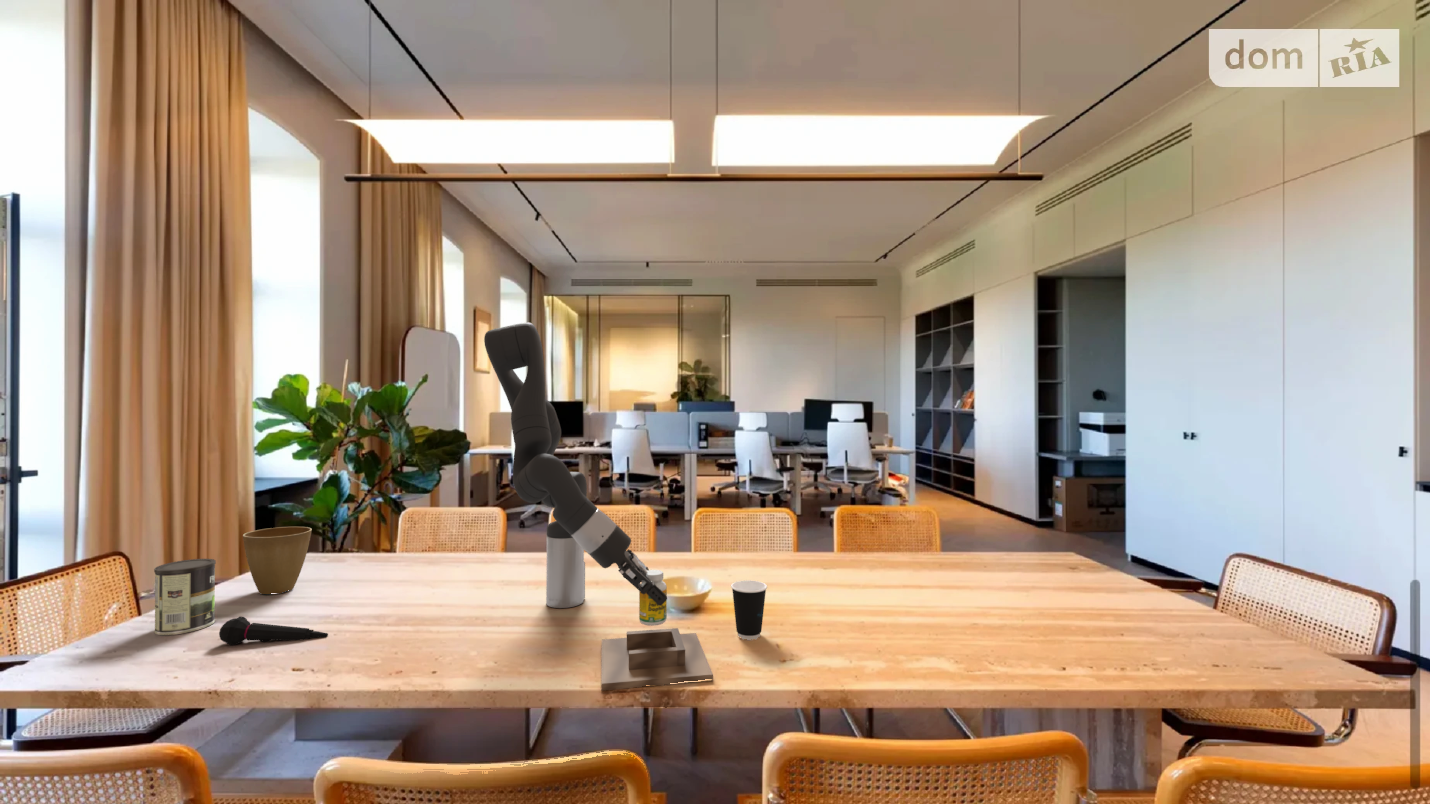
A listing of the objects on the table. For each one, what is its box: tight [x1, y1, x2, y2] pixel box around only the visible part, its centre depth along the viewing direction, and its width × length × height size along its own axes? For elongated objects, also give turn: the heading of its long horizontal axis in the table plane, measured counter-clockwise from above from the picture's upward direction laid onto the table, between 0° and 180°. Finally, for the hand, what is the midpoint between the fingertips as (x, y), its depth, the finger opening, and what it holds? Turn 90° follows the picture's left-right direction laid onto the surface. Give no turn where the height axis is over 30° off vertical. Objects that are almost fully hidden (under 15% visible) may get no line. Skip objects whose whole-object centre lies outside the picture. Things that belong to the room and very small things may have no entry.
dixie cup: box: [730, 579, 768, 641], centre depth 129 cm, size 8×8×11 cm
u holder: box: [600, 627, 714, 691], centre depth 115 cm, size 20×20×4 cm
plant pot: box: [242, 526, 312, 595], centre depth 159 cm, size 15×15×16 cm
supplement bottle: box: [638, 569, 668, 627], centre depth 115 cm, size 5×5×10 cm
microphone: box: [218, 615, 329, 646], centre depth 125 cm, size 6×6×20 cm
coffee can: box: [153, 558, 217, 636], centre depth 133 cm, size 10×10×14 cm
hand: (662, 596), depth 116 cm, fingers closed on supplement bottle, 5 cm apart
